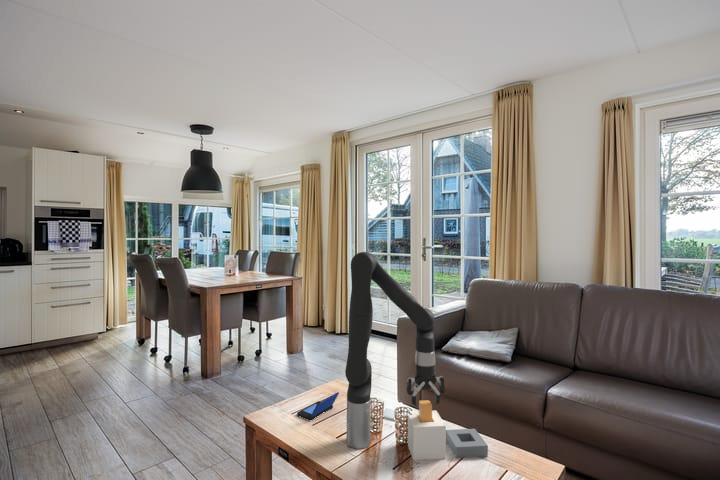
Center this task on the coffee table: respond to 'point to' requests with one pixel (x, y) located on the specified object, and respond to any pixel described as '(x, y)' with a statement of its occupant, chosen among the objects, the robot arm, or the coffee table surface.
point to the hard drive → (389, 414)
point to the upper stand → (426, 437)
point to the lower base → (466, 443)
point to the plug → (425, 411)
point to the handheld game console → (318, 408)
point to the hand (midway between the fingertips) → (425, 404)
